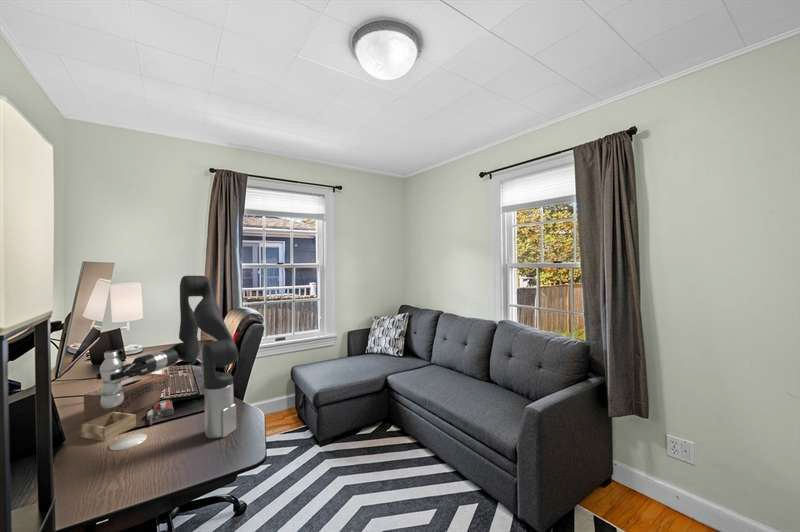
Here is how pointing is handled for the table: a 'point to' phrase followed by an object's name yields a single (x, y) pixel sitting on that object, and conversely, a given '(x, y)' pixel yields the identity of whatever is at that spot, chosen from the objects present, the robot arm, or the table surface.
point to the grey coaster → (128, 442)
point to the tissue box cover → (128, 395)
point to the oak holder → (104, 432)
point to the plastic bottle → (111, 389)
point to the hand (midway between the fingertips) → (104, 377)
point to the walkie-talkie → (160, 410)
